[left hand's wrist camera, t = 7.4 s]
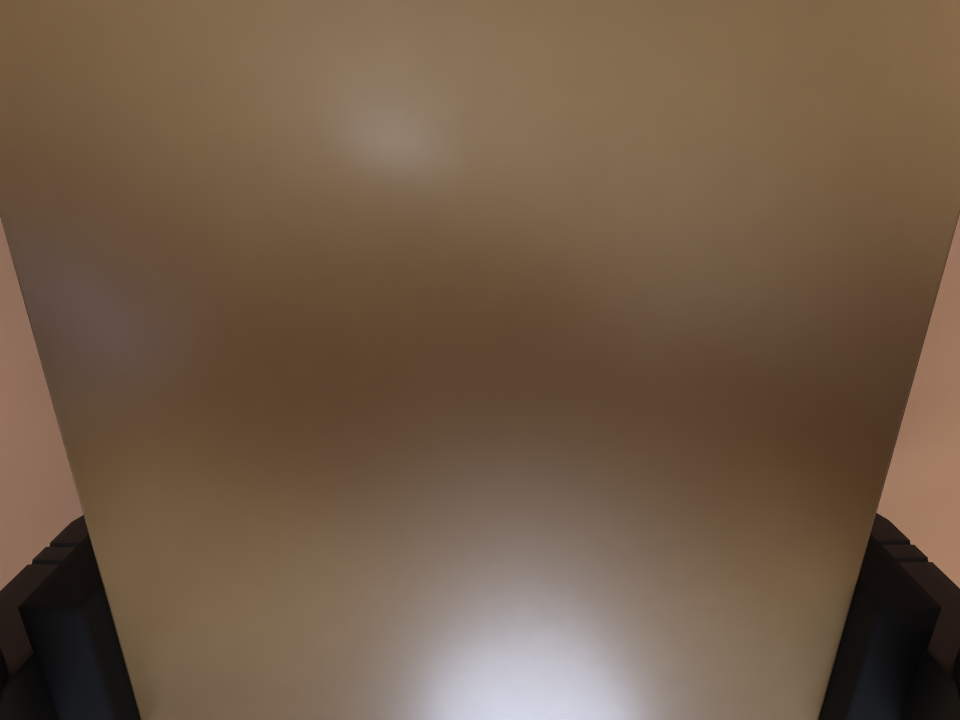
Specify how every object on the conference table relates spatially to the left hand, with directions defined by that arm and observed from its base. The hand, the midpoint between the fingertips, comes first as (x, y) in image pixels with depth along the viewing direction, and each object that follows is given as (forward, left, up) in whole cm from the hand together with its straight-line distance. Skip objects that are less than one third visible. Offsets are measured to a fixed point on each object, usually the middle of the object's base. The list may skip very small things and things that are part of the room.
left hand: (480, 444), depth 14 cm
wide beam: (-18, +8, 0) cm, 19 cm away
